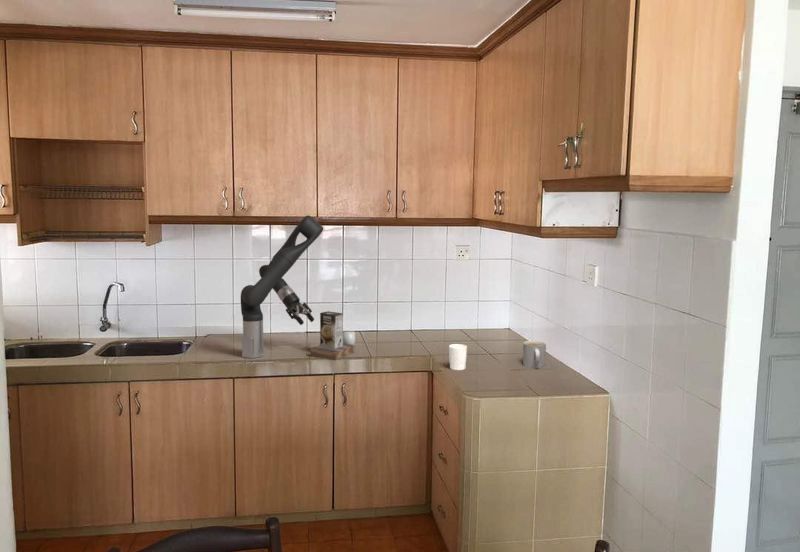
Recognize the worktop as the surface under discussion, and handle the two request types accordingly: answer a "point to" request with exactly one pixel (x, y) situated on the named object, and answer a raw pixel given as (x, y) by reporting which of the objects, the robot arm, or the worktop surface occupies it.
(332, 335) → the coffee box
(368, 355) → the worktop surface
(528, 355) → the coffee mug
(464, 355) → the white cup
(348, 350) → the podium
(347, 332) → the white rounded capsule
